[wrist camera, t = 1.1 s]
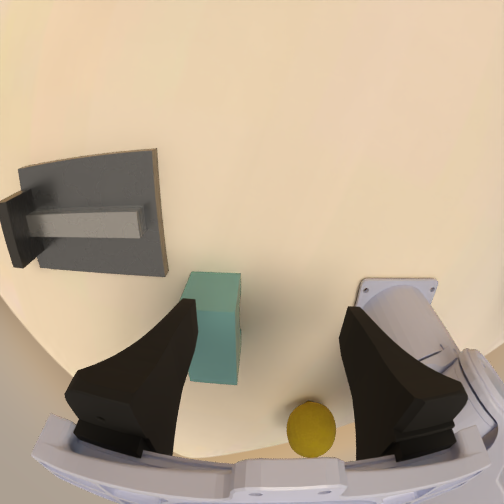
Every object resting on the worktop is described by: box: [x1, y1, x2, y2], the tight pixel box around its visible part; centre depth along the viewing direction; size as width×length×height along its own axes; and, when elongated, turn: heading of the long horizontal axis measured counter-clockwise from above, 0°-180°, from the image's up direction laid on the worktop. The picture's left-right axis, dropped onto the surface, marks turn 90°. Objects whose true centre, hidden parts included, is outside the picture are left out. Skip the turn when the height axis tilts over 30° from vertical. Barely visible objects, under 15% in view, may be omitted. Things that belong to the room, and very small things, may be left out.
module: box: [180, 272, 241, 385], centre depth 23 cm, size 4×8×5 cm, turn 179°
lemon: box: [287, 401, 336, 458], centre depth 28 cm, size 6×6×8 cm
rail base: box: [0, 148, 169, 277], centre depth 20 cm, size 14×10×4 cm
